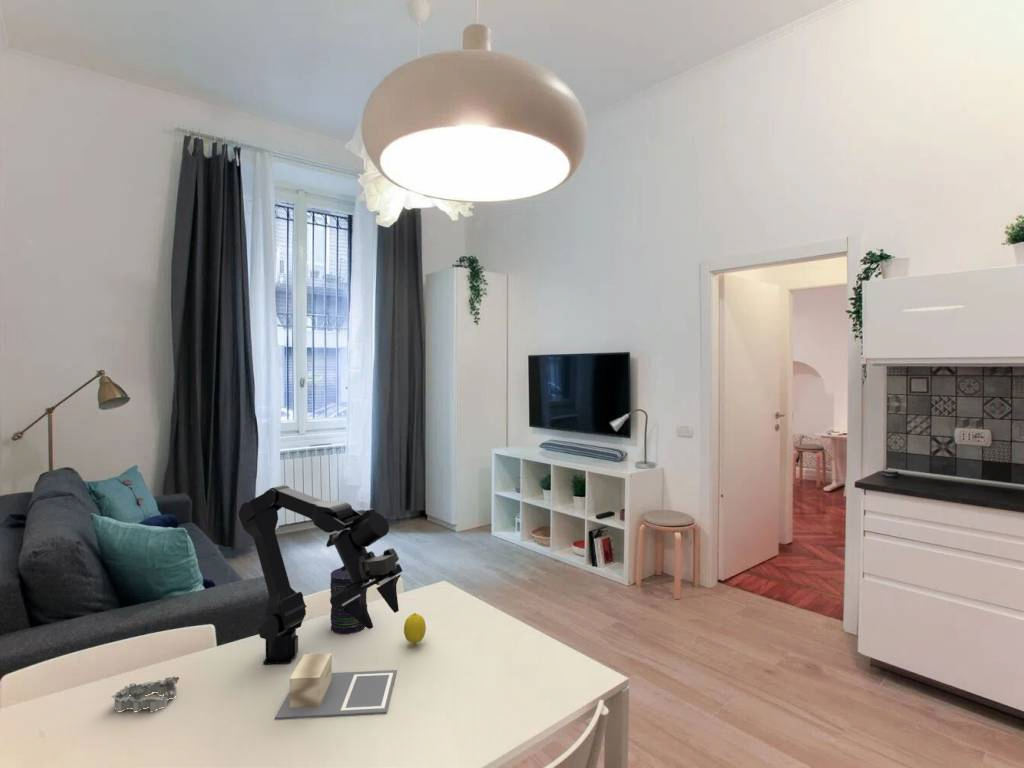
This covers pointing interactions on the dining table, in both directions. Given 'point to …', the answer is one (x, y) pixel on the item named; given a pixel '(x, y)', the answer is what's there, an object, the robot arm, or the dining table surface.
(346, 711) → the mat
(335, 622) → the storage jar
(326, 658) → the block
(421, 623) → the lemon
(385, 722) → the dining table surface
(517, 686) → the dining table surface
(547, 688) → the dining table surface
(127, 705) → the egg carton
